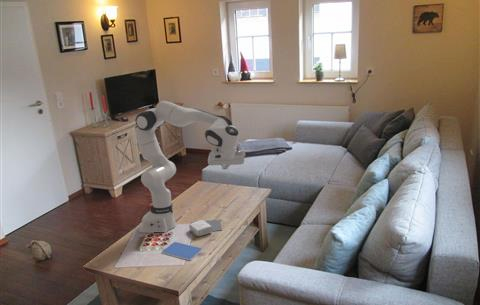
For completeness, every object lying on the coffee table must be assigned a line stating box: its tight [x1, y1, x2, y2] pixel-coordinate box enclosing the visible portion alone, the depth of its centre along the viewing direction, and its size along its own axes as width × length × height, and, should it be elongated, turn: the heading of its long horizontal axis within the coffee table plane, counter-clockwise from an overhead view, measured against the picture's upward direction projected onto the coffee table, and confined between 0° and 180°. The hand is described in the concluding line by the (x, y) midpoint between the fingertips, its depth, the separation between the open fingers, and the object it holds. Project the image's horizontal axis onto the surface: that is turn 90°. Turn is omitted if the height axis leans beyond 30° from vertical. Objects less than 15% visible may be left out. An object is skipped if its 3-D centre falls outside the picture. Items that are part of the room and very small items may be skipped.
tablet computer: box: [161, 241, 204, 261], centre depth 213 cm, size 19×13×1 cm, turn 63°
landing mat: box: [190, 218, 223, 234], centre depth 239 cm, size 18×14×1 cm
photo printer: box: [188, 220, 213, 237], centre depth 233 cm, size 10×4×12 cm
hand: (224, 168), depth 226 cm, fingers closed
